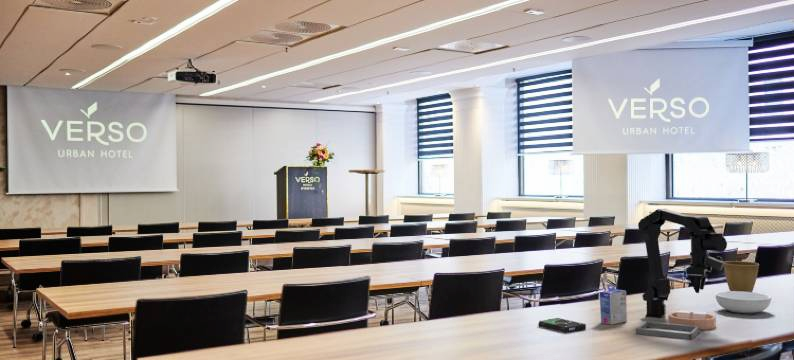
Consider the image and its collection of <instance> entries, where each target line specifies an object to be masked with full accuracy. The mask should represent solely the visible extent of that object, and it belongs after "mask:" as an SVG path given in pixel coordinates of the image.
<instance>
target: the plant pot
mask: <svg viewBox="0 0 794 360" xmlns="http://www.w3.org/2000/svg"><path fill="white" fill-rule="evenodd" d="M759 266H760V264H759V263H757V262H752V261H744V260H743V261H739V260H736V261H735V260H729V261H727V260H726V261H724V265H723V270H724V276H725V279H726V283H727V286H728V291H742V292H753V291H754V288H755V285H756V282H757V278H758V273H759V268H760V267H759Z"/></svg>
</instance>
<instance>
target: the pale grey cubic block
mask: <svg viewBox="0 0 794 360" xmlns="http://www.w3.org/2000/svg"><path fill="white" fill-rule="evenodd" d="M693 312H694V313H693V319H707V314H708V312H706V311H705V312H704V311H693Z"/></svg>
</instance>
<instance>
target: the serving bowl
mask: <svg viewBox="0 0 794 360" xmlns="http://www.w3.org/2000/svg"><path fill="white" fill-rule="evenodd" d="M715 300H716V302H717V304H718V305H719V306H720V307H721V308H723V309H724V310H728V311H731V312H732V313H737V314H747V315H748V314H755V313H760V312H763V311H765V310H766V309H768V308H769V306H770V305H771V301H772V296H770V295H769V294H765V293H760V292H753V291H752V292H742V291H730V290H728V291H725V290H724V291H718V292H716V293H715Z"/></svg>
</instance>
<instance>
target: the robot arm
mask: <svg viewBox="0 0 794 360" xmlns="http://www.w3.org/2000/svg"><path fill="white" fill-rule="evenodd" d="M666 221H667V222H670V223H674V224H677V225H681V226H683V227H684V228H685V229H686V230H688V231H689V232H688V233H687V234H686V235H685V236H686V238H690V252H689V255H690V261H691V262H690V263H689V266H687V268H686V269H685V274H686V276H687V277H688V279H689V281H690V283H691V285H692V288H693V290H694V292H695V293H697V294H699V293H700V290H702V291H703V290H704V288H705V284H706V280H707V276H708V275H709V274H710V273H711V272H712V270H713V269H715V270H716V271H720V272H721V271H722V269H723V268H724V262H725V260H723V258H722V257H721V256H720V255H719V256H718V255H717V256H716V257H712V256H710V252H718V253H723V252H725V251H726V250H727V247H728V242H727V239H726V238H725V237H724V234H723V232H716V230H715V229H714V227H713V225H712V223H711V222H710V220H709V218H708V217H707V216H705V215H688V214H684V213H680V212H676V211H673V210H670V209H667V208H657V209H655V210H654V211H653V212H652V213H650V214H648V215H646V216H644V217H643V218H641V219H639V222H638V224H637V226H638V231H639V234H640V236H641V237H642V238H643V240H644V242H645V247H646V248H645V249H646V256H647V262H648V270H649V275H650V276H649V277H648V278H649V279H648V281H647V289H646V290H645V292H644V293H642V294H641V295H642V296H641V297H642V300H643V301H645V302H646V314H645V317H653V318H663V317H665V316H666V313H667V312H666V311H667V309H666V308H667V307H666V304H665V301H668V298H669V296H670V294H671V289H672V287H671V280H670V279H669V278H666V276H665V275H664V272H663V265H662V259H661V258H662V257H661V250H660V243H659V238H660V235H661V231H662V229H661V227H663V225H665V223H666Z"/></svg>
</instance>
